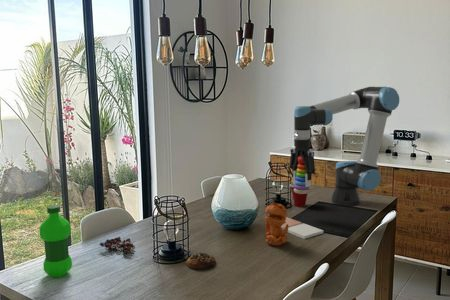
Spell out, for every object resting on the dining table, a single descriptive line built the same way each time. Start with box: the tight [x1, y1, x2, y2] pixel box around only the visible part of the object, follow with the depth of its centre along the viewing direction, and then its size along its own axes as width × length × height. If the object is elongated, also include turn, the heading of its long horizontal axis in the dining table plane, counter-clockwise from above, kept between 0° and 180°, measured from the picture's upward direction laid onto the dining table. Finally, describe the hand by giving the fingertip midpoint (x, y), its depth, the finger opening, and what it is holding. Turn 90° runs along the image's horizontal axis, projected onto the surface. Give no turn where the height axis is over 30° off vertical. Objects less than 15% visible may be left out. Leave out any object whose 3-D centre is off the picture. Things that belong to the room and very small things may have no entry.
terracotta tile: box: [264, 216, 303, 231], centre depth 205 cm, size 12×12×1 cm
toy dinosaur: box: [263, 201, 289, 246], centre depth 181 cm, size 11×11×18 cm
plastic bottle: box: [39, 204, 73, 278], centre depth 153 cm, size 10×11×25 cm
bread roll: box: [185, 252, 216, 270], centre depth 162 cm, size 11×11×5 cm
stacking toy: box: [294, 156, 311, 195], centre depth 210 cm, size 8×8×19 cm
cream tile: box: [287, 223, 324, 240], centre depth 195 cm, size 12×12×1 cm
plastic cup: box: [289, 183, 308, 208], centre depth 235 cm, size 11×11×12 cm
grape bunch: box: [98, 236, 136, 256], centre depth 177 cm, size 15×14×5 cm
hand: (301, 184), depth 211 cm, fingers closed on stacking toy, 7 cm apart
